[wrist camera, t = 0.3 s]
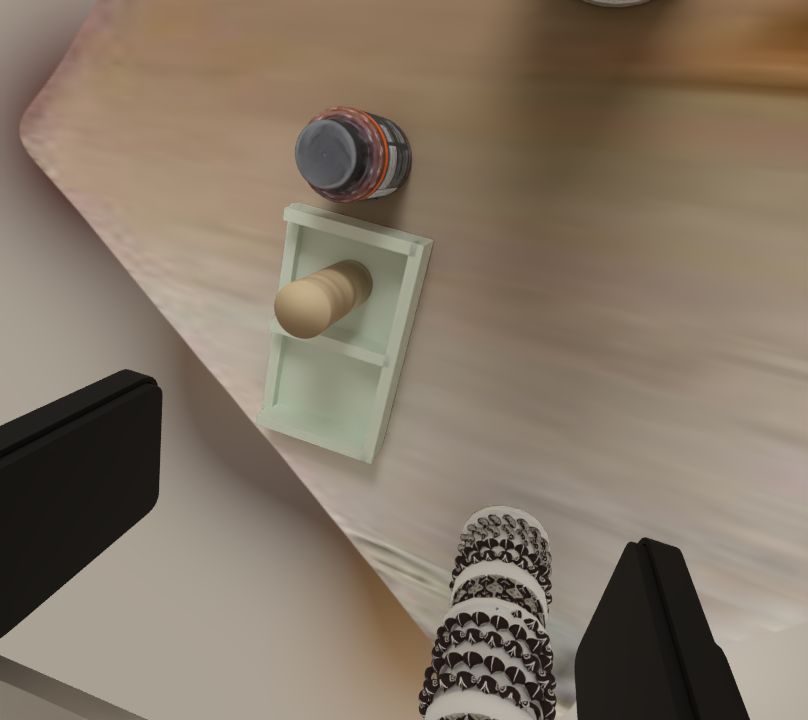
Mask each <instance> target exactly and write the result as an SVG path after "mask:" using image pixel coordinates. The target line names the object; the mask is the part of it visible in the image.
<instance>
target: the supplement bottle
mask: <svg viewBox="0 0 808 720" xmlns="http://www.w3.org/2000/svg"><path fill="white" fill-rule="evenodd" d="M295 159H296V163H297V166H298V169H299V171H300V173H301V174H302V176H303V177H304V178H305V180H306V181H307V182H308V183H309V185H310V186H311V188H312V189H314V190H315V191H316V193H318V194H319V195H321V196H322V197H324V198H326V199H328V200H331V201H333V202H339V203H349V202H355V201H362V200H368V199H377V198H379V197H384V196H386V195H389V194H390V193H393V192H394V191H396V190H397V189H398V188H399V187H401V185H402V184H403V183H404V182H405V180H406V178H407V176H408V174H409V171H410V168H411V162H412V153H411V148H410V144H409V142H408V139H407V137H406V135H405V134H404V132H403V131H402V130H401V129H400V128H399V127H398V126H397V125H396V124H395V123H393V122H391V121H390V120H388V119H385V118H383V117H380V116H376V115H373V114H370V113H367V112H364V111H361V110H357V109H354V108H348V107H333V108H329V109H326V110H324V111H322V112H320V113H319V114H317V115H316V116H315V117H314V118H313V119H312V120H311V121H310V122H309V123H308V125H307V126H306V127H305V128H304V129H303V130H302V132H301V133H300V135H299V137H298V140H297V142H296V147H295Z"/></svg>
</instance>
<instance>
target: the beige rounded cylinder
mask: <svg viewBox="0 0 808 720" xmlns="http://www.w3.org/2000/svg"><path fill="white" fill-rule="evenodd" d="M372 288H373V280H372V277H371V274H370V272H369V270H368V269H367V268H366V267H365V266H364V265H363V264H362V263H360V262H358V261H355V260H350V259H348V260H343V261H340V262H338V263H335V264H333V265H331V266H328V267H326V268H324V269H322V270H319V271H317V272H315V273H312V274H310V275H308V276H305V277H303V278H301V279H298V280H296V281H294V282H292V283H289V284H287V285H285V286H284V287H283V288H282V289H281V290H280V291H279V292H278V294H277V296H276V299H275V304H274V309H275V315H276V318H277V320H278V322H279V324H280V325H281V327H282V328H283V329H284V330H285V331H286V332H287V333H289V334H290V335H292V336H294V337H297V338H300V339H309V338H313V337H315V336H317V335H319V334H320V333H322V332H323V331H324V330H326V329H327V328H329V327H330V326H331V325H333V324H334V323H336V322H337V321H338V320H340V319H341V318H343V317H344V316H345V315H347V314H348V313H350V312H351V311H352V310H354V309H355V308H357V307H358V306H359V305H361V304H362V303H364V302H365V301H366V300H367V299H368V298H369V296H370V295H371V292H372Z"/></svg>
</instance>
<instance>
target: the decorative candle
mask: <svg viewBox="0 0 808 720" xmlns="http://www.w3.org/2000/svg"><path fill="white" fill-rule="evenodd" d="M460 538H461V540H462V544H459V545H458V550H459V551H460V552H461V553H462V556H457V557H456V558H455V565H456V567H457V568H455V569H454V570H453V572H452V577H453V579H454V580H453V581H451V582H450V585H449V587H450V589H451V591H452V596H451V600H450V608H451V609H450V610H449V611H448V612H447V613H446V615H445V616H444V617H443V621H442V625H441V627H439V628H438V630H437V637H438V639H437V640H436V641H435V647H434V648H433V650H432V657H433V659H432V667H428V668H427V669H426V671H425V678H426V680H425V681H424V684H423V686H424V689H423V690H422V691H421V692H420V694H419V702H420V706H419V712H420V714H421V716H422V717H423V718H425V719H424V720H554V718H555V715H556V711H555V709H554V707H555V706H556V696H555V694H554V693H553V691H552V690H553V689H554V688H555V687H556V680H555V677H554V676H553V675H552V674H551V669H552V666H553V663H552V660H553V652H552V650H551V646H550V639H549V635H548V633H547V632H546V630H545V626H546V623H547V620H548V617H547V614H548V612H549V608H548V606H547V605H548V604H550V603H551V602H552V597H551V594H550V593H549V592H548V590H550V589H551V587H552V585H551V582H550V580H549V577H550V576H551V574H552V569H551V565H550V563H551V555H550V553H549V552H550V545H549V540H548V534H547V532H546V531H545V530H544V528H543V527H542V525H541V524H540V522H539V521H538V520H537V519H535V518H534V517H533V516H531V515H530V514H528V513H527V512H525V511H524V510H520V509H517V508H513V507H510V506H506V505H505V506H489V507H486V508H484V509H482V510H480V511H477V512H475V513H474V514H473V515H472V516H471V517H470V518H469V519H468V521H467V522H466V523H465V525H464V529H463V533H462V534H461V536H460ZM435 673H436V674H437V679H434V678H433V676H434V674H435ZM428 698H429V701H428ZM430 703H431V705H430Z"/></svg>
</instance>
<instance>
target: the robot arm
mask: <svg viewBox="0 0 808 720" xmlns="http://www.w3.org/2000/svg"><path fill="white" fill-rule="evenodd" d="M583 1H584V2H587V3H591V4H595V5H599V6H602V7H627V6H633V5H638V4H643V3H646V2H648V1H651V0H583ZM161 420H162V390H161V388H159V387H158V386H157V382H156V380H155V379H154V378H153V377H150V376H147V375H144V374H141V373H138V372H135V371H132V370H127V369H125V370H122V371H119V372H117V373H115V374H112V375H110V376H108V377H106V378H104V379H102V380H99V381H97V382H95V383H93V384H91V385H88V386H86V387H85V388H82V389H80V390H78V391H76V392H74V393H71V394H69V395H67V396H65V397H62V398H60V399H58V400H56V401H54V402H51V403H49V404H47V405H45V406H43V407H40V408H38V409H36V410H34V411H32V412H30V413H27V414H25V415H23V416H21V417H19V418H16V419H14V420H12V421H10V422H8V423H6V424H4V425H1V426H0V638H1V637H3V636H4V635H5V634H7V633H8V632H9V631H10V630H12V629H13V628H14V627H15V626H16V625H18V623H20V622H21V621H22V620H23V619H25V618H26V617H27V616H28V615H29V614H30V613H32V612H33V611H34V610H35V609H36V608H37V607H39V606H40V605H41V604H42V603H43V602H45V601H46V600H47V599H48V598H49V597H50V596H52V595H53V594H54V593H55V592H56V591H57V590H59V589H60V588H61V587H62V586H63V585H64V584H66V583H67V582H68V581H69V580H70V579H72V578H73V577H74V576H75V575H76V574H77V573H79V572H80V571H81V570H82V569H83V568H84V567H86V566H87V565H88V564H89V563H90V562H91V561H93V560H94V559H95V558H96V557H97V556H99V555H100V554H101V553H102V552H103V551H104V550H105V549H107V548H108V547H109V546H110V545H111V544H112V543H113V542H115V541H116V540H117V539H119V538H120V537H121V536H122V535H123V534H124V533H126V532H127V531H128V530H129V529H130V528H131V527H133V526H134V525H135V524H136V523H137V522H138V521H140V520H141V519H142V518H143V517H144V516H145V515H147V514H148V513H149V512H150V511H151V510H152V509H153V507H154V506H155V504H156V502H157V499H158V495H159V475H160V474H159V473H160V447H161ZM575 685H576V701H577V717H578V720H750V718H749V716H748V713H747V711H746V708H745V705H744V703H743V700H742V697H741V695H740V692H739V690H738V687H737V684H736V682H735V679H734V676H733V674H732V671H731V669H730V666H729V663H728V661H727V658H726V656H725V654H724V652H723V651H722V649H721V648H720V647H719V646H718V645H717V644H716V643H715V642H714V639H713V636H712V633H711V631H710V628H709V625H708V623H707V620H706V617H705V614H704V612H703V609H702V606H701V604H700V601H699V598H698V595H697V593H696V590H695V587H694V585H693V582H692V579H691V576H690V574H689V571H688V568H687V566H686V563H685V560H684V557H683V555H682V553H681V551H680V549H678V548H677V547H674V546H671V545H668V544H664V543H661V542H658V541H655V540H652V539H649V538H646V537H645V538H642V539H641V540H640V541H639V542H638V543H634V542H629V543H628V544H627V545H626V547H625V549H624V551H623V553H622V555H621V558H620V560H619V562H618V564H617V566H616V568H615V570H614V572H613V575H612V577H611V579H610V581H609V583H608V585H607V587H606V589H605V592H604V594H603V596H602V598H601V600H600V602H599V604H598V607H597V609H596V611H595V613H594V615H593V617H592V619H591V621H590V624H589V626H588V628H587V630H586V632H585V634H584V636H583V638H582V641H581V643H580V645H579V647H578V650H577V653H576V658H575ZM0 720H147V719H145V718H142V717H140V716H138V715H136V714H133V713H131V712H129V711H127V710H124V709H122V708H120V707H117V706H115V705H113V704H111V703H108V702H106V701H104V700H101V699H99V698H97V697H95V696H93V695H90V694H88V693H86V692H83V691H81V690H79V689H77V688H74V687H72V686H70V685H67V684H65V683H63V682H60V681H58V680H56V679H54V678H51V677H49V676H47V675H44V674H42V673H40V672H37V671H35V670H33V669H31V668H28V667H26V666H23V665H21V664H19V663H17V662H14V661H12V660H10V659H7V658H5V657H3V656H0Z"/></svg>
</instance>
